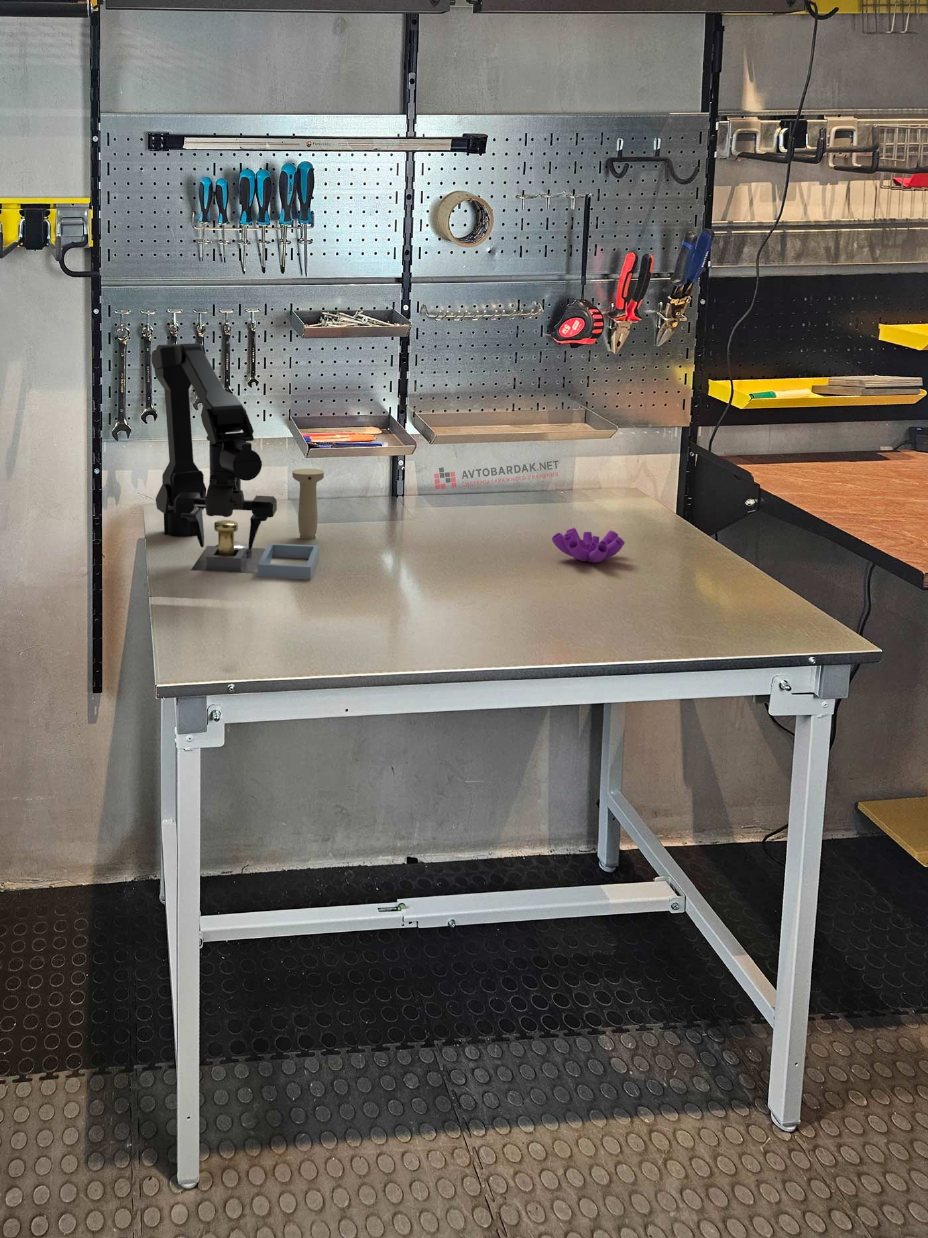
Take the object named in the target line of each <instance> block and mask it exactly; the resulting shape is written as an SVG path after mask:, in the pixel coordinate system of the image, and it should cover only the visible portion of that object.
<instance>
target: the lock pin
mask: <svg viewBox="0 0 928 1238" xmlns="http://www.w3.org/2000/svg"><path fill="white" fill-rule="evenodd" d="M213 525H214V531H215V532H217V536H218V537H217V538H218V539H217V540H218V541H217V543H218V544H217V545H218V550H219V556H234V541H235V532H238V530H239V528H238V527H239V526H238V525H239V522H238V521H235V520H229V519H228V520H227V519H226V520H225V519H224V520H223V519H222V520H217V521H215V522H214V523H213Z"/></svg>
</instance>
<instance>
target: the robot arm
mask: <svg viewBox="0 0 928 1238" xmlns="http://www.w3.org/2000/svg"><path fill="white" fill-rule="evenodd" d="M151 364H152V367H153V368H154V376H155V377H156V379H157V381H158V382H159V383H160V385H161V386H162V388H163V390H164V400H165V413H166V414H165V415H166V428H167V429H166V431H167V445H168V458H169V460H168V461H169V462H168V463H167V466H166V468H165V469H164V471H163V473H162V477H161V478H162V485H161V486H160V488H159V490H158V492H157V494H156V497H155V504H156V505H155V506H156V509H157V510H158V511H159V512H162V513H163V535H166V536H170V537H173V538H174V537H175V538H184V537H185V538H186V537H196V538H197V540H198V543H199V546H200V547H201V548H204V547H205V531H204V518H203V510H204V509H205V514H206V516H208V517H224V518H230V517H232V515H233V512H234V511H251V513H252V515H251V516H250V519H249V520H250V521H249V522H250V523H249V524H250V526H249V538H248V544H249V550H251V549H252V548H253V545H254V542H255V540H256V537H257V533H258V530H259V528H260V525H261V524H262V522H266V521H267V520H268V518H270V519H271V518H273V517H274V516H275V514H276V512H277V511H278V506H277V505H278V504H277V503H278V501H277V499H276V497H275V496H273V495H271V496H270V495H258V494H257V495H255V497H254V498H253V500H252V499H251V500H248V499H247V500H246V499H245V496H244V495H245V494H244V491H243V490H242V485H241V484H242V481H246V482H247V481H252V480H254V479H255V478H257V477H258V475H259V474H260V473H261V470H262V466H263V461H262V459H261V456H260V455H259V454H258V452H256V451H255V450H253V447H252V443H251V442H253V441H254V440H255V438H254V429H253V426H252V424H251V420H250V418H249V415H248V413H247V410H246V407H244V406H243V404H242V403H241V401H240V400H239V399H238V397H237V396H236V395H235V394H233V393H231V392H229V391H227V390H225V388H224V386H223V385H222V383H221V381H220V379H219V377H218V376H217V373H216V372H215V370H214V368H213V366H212V365H211V363H210V361H209V358H208V357H207V355H206V348H205V346H204V345H203V344H200V343H198V342H195V343H191V342H190V343H179V344H178V343H177V344H176V343H174V344H173V343H171V344H158V345H157V346H156V348H155V349H154V350H153V351H152V352H151ZM191 387H193V390H194V391H195V393H196V394H197V397H198V399H199V401H200V402H201V405H202V407H201V412H200V418H201V422H202V426H203V429H204V430H205V432H206V434H207V436H206V440H207V441H208V442H209V443H208V448H209V449H208V450H209V451H208V452H209V455H208V456H209V480H208V481H209V484H208V487H206V484H205V482H204V481H205V480H204V479H205V478H204V476H205V475H204V473H203V471H202V470H200V469H199V468H198V467H197V465H196V463H195V462H194V450H193V433H192V432H193V431H192V421H191V420H192V419H191V403H190V388H191Z"/></svg>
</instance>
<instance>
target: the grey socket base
mask: <svg viewBox="0 0 928 1238" xmlns="http://www.w3.org/2000/svg"><path fill="white" fill-rule="evenodd" d="M265 549H266V547H265V548H262V547H261V548H260V547H259V548H258V547H252V549H251V550H249V543H247V542H245V541H240V540H234V556H219V550H218V544H216V545H207V546H205V549H204V550H203V551H202V553H201V554H200V556H199V557H198V559H197V560H196V561H195V563H194V564H193V566H192V568H191V569H190V571H194V572H195V571H196V572H197V571H199V572H218V573H239V574H255V573H256V571H257V564H258V563H259V561H260V559H261V557H262V555H263V553H264V551H265Z"/></svg>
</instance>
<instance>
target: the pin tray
mask: <svg viewBox="0 0 928 1238" xmlns="http://www.w3.org/2000/svg"><path fill="white" fill-rule="evenodd" d="M273 558H294V559H308V560H307V561H306V564H287V563H271V562H272V559H273ZM319 558H320V545H317V544H316V545H315V544H313V545H312V544H293V543H292V544H291V543H275V542H272V543H271V542H268V543H267V546H266V547H265V551H264V553H263V555H262V557H261V559H260V561H259V563H258V564H257V569H256V571H257V578H270V579H271V578H275V579H276V578H277V579H290V580H291V579H295V580H311V579H312V577H313V575H314V572H315V569H316V567H317V565H318V561H319Z"/></svg>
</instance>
